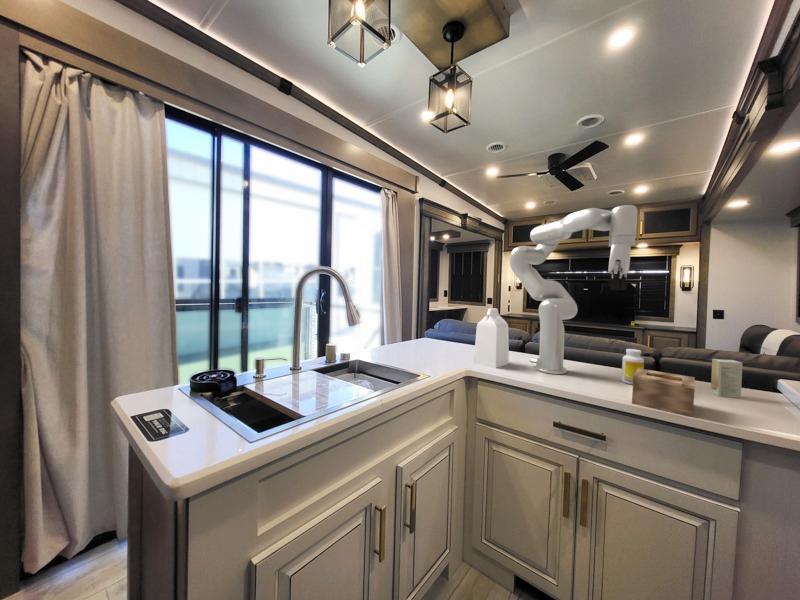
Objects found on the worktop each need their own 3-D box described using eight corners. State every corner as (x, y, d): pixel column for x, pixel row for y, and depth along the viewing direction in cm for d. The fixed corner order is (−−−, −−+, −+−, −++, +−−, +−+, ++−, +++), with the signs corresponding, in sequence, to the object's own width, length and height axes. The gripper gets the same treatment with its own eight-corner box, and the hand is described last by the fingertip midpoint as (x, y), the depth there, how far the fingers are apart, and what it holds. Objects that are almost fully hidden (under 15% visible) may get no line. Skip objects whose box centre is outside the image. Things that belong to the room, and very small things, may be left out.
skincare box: (732, 394, 106) (735, 359, 106) (741, 398, 102) (744, 362, 102) (709, 392, 109) (711, 358, 108) (717, 396, 104) (719, 361, 104)
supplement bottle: (646, 386, 114) (648, 352, 113) (626, 385, 115) (628, 351, 114) (636, 380, 120) (638, 348, 120) (617, 379, 122) (619, 347, 121)
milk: (487, 359, 153) (488, 307, 151) (508, 363, 144) (510, 309, 143) (473, 363, 145) (475, 308, 143) (495, 368, 136) (497, 310, 135)
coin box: (631, 403, 97) (633, 375, 96) (636, 393, 106) (638, 368, 105) (692, 417, 87) (694, 386, 87) (692, 405, 96) (694, 377, 95)
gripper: (613, 244, 117) (610, 289, 118) (604, 240, 104) (600, 290, 105) (638, 243, 112) (635, 290, 113) (631, 238, 99) (627, 290, 100)
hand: (618, 290), depth 109 cm, fingers open, 9 cm apart
